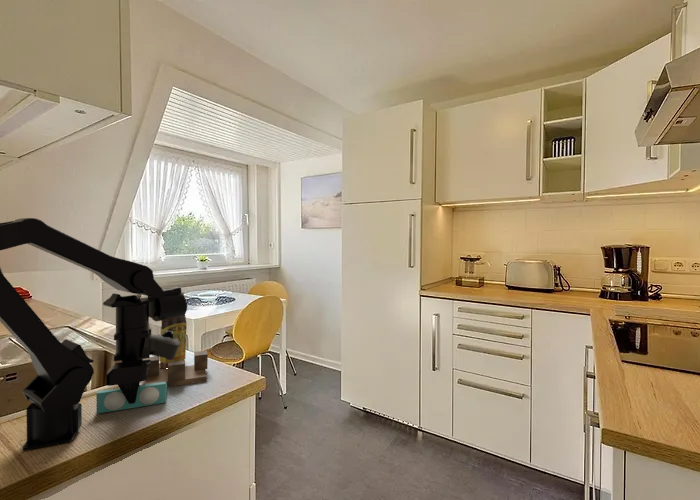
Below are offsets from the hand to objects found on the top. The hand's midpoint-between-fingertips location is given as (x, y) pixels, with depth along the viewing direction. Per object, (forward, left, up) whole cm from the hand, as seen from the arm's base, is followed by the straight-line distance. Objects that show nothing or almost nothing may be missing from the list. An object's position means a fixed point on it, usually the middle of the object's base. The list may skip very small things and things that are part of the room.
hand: (132, 401), depth 72 cm
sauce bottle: (+7, +22, -1) cm, 23 cm away
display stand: (+8, +13, -1) cm, 15 cm away
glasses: (0, +3, -1) cm, 3 cm away
